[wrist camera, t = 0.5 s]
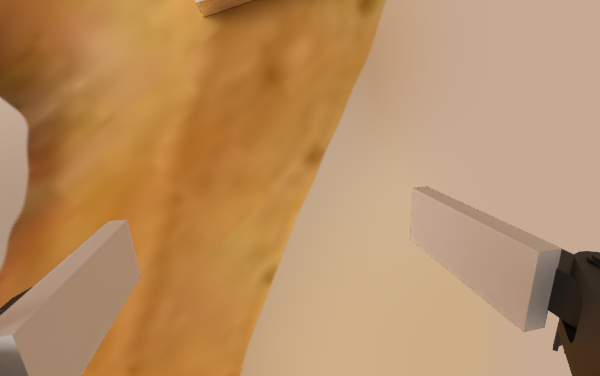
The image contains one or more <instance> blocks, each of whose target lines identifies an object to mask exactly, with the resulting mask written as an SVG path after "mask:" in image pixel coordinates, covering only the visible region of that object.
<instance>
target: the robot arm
mask: <svg viewBox="0 0 600 376" xmlns="http://www.w3.org/2000/svg"><path fill="white" fill-rule="evenodd" d="M410 239H411V240H412V241H413V242H414V243H416V244H417V245H418V246H419V247H421V248H422V249H423V250H424V251H425V252H427V253H428V254H429V255H430V256H431V257H433V258H434V259H435V260H436V261H438V262H439V263H440V264H441V265H442V266H444V267H445V268H446V269H447V270H449V271H450V272H451V273H452V274H453V275H455V276H456V277H457V278H458V279H460V280H461V281H462V282H463V283H464V284H466V285H467V286H468V287H469V288H470V289H472V290H473V291H474V292H475V293H476V294H478V295H479V296H480V297H481V298H483V299H484V300H485V301H486V302H488V303H489V304H490V305H491V306H492V307H494V308H495V309H496V310H497V311H498V312H500V313H501V314H502V315H503V316H505V317H506V318H507V319H508V320H510V321H511V322H512V323H513V324H514V325H515V326H517V327H518V328H519V329H520V330H522V331H523V332H526V331H531V330H535V329H540V328H544V327H545V323H546V319H547V314H548V310H549V311H550V312H552V313H554V314H555V315H556V316H558V317H559V323H558V327H557V331H556V335H555V340H554V344H553V350H555V351H558V347H559V346H561V345H563V348H564V353H565V354H566V357H567V360H568V363H569V367H570V370H571V373H572V376H600V253H599V252H590V251H583V252H578V253H576V254H571V253H569V252H567V251H565V250H563V249H562V248H560V247H558V246H556V245H553V244H551V243H549V242H547V241H545V240H543V239H540V238H538V237H536V236H534V235H531V234H529V233H527V232H525V231H523V230H521V229H519V228H516V227H514V226H512V225H510V224H508V223H505V222H503V221H501V220H499V219H497V218H495V217H492V216H490V215H488V214H486V213H484V212H481V211H479V210H477V209H475V208H473V207H470V206H468V205H466V204H464V203H462V202H460V201H457V200H455V199H453V198H451V197H449V196H446V195H444V194H442V193H440V192H438V191H436V190H434V189H431V188H429V187H418V188H413V193H412V212H411V229H410ZM140 277H141V275H140V270H139V266H138V262H137V258H136V253H135V249H134V245H133V241H132V237H131V232H130V228H129V224H128V220H118V221H108V222H107V223H106V224H105V225H103V226H102V227H101V228H100V229H99V230H98V231H97V232H95V233H94V234H93V235H92V236H91V237H90V238H89V239H87V240H86V241H85V242H84V243H83V244H82V245H81V246H79V247H78V248H77V249H76V250H75V251H74V252H73V253H71V254H70V255H69V256H68V257H67V258H66V259H65V260H63V261H62V262H61V263H60V264H59V265H58V266H57V267H55V268H54V269H53V270H52V271H51V272H50V273H48V274H47V275H46V276H45V277H44V278H43V279H42V280H40V281H39V282H38V283H37V284H36V285H35V286H34V287H31V288H29V289H28V290H26V291H24V292H22V293H21V294H19V295H17V296H15V297H14V298H12V299H11V300H10V301H8V302H7V303H6V304H5V305H4V306H3V307H1V308H0V376H82V374H83V372H84V371H85V369H86V367H87V366H88V364H89V362H90V361H91V359H92V357H93V356H94V354H95V352H96V351H97V349H98V347H99V346H100V344H101V342H102V340H103V339H104V337H105V335H106V334H107V332H108V330H109V329H110V327H111V325H112V324H113V322H114V320H115V319H116V317H117V315H118V314H119V312H120V310H121V309H122V307H123V305H124V304H125V302H126V300H127V298H128V297H129V295H130V293H131V292H132V290H133V288H134V287H135V285H136V283H137V282H138V280H139V278H140Z"/></svg>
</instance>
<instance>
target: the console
mask: <svg viewBox="0 0 600 376" xmlns="http://www.w3.org/2000/svg"><path fill="white" fill-rule="evenodd" d="M249 1H252V0H195V2H196V4H197V6H198V8H199V10H200V12H201V14H202V16H203V17H206V16H209V15H211V14H214V13H217V12H220V11H223V10H226V9H229V8H232V7H235V6H238V5H241V4H244V3H246V2H249Z"/></svg>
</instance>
